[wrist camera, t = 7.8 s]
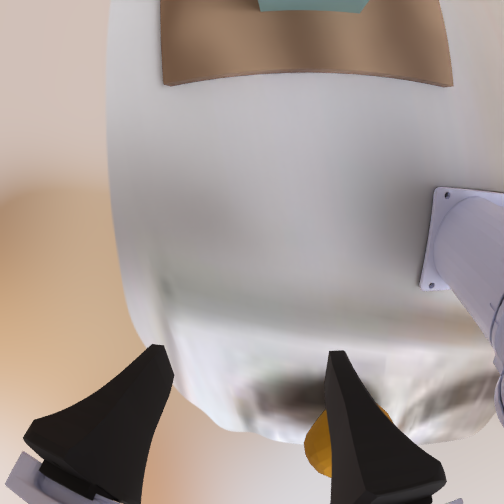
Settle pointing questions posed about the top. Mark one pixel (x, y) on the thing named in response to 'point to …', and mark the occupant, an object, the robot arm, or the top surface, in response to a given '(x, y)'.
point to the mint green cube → (313, 5)
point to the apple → (321, 445)
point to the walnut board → (303, 41)
